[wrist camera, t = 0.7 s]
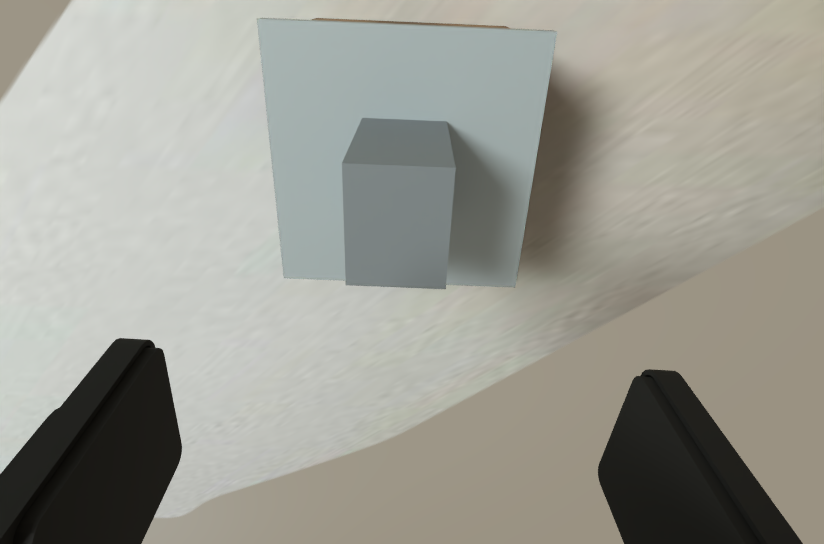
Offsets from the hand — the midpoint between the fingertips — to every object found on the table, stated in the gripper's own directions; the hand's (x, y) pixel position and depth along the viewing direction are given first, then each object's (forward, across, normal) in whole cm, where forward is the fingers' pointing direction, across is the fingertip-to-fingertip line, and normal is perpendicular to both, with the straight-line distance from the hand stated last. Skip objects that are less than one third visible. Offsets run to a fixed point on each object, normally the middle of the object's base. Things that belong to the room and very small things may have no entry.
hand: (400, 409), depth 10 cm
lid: (+18, 0, 0) cm, 19 cm away
